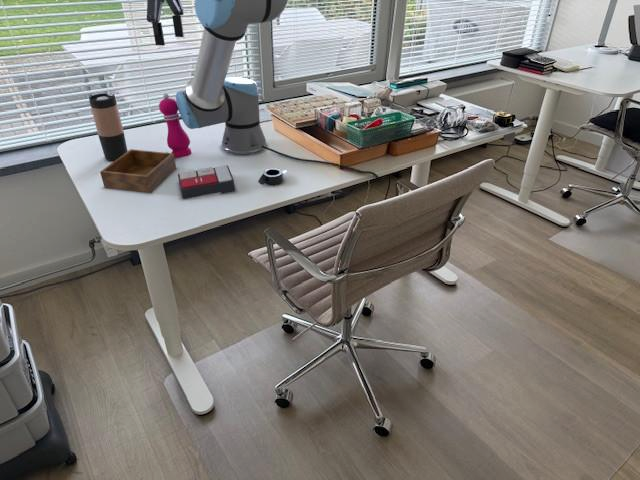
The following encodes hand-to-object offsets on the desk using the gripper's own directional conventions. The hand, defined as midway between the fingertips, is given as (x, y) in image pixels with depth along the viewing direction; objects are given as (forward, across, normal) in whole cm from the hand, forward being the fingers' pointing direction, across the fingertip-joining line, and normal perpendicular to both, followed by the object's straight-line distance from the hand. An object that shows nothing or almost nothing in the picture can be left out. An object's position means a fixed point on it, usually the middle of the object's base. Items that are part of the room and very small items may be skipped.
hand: (170, 41), depth 149 cm
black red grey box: (+33, +35, +23) cm, 53 cm away
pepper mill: (+32, +17, +7) cm, 37 cm away
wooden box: (+33, +34, +2) cm, 47 cm away
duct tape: (+33, +27, +41) cm, 59 cm away
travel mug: (+33, +22, -14) cm, 42 cm away
